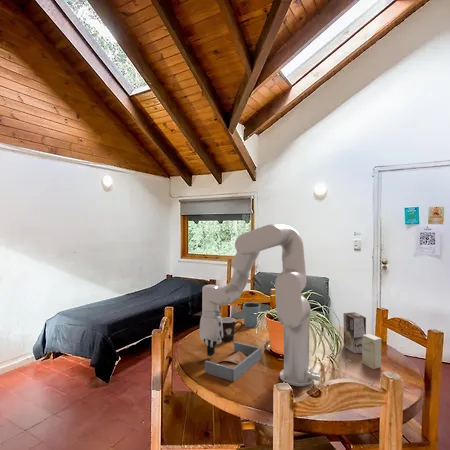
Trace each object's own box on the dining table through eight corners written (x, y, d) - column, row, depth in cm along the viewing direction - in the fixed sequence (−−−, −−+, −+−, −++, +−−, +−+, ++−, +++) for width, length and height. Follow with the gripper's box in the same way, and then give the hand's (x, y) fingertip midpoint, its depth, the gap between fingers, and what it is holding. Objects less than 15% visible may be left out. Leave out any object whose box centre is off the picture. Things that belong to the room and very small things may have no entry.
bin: (261, 358, 136) (261, 347, 136) (233, 381, 116) (233, 369, 116) (235, 351, 143) (235, 341, 143) (204, 372, 123) (204, 361, 123)
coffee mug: (217, 341, 155) (216, 322, 155) (220, 335, 163) (220, 316, 163) (239, 343, 152) (239, 323, 152) (242, 337, 161) (242, 318, 160)
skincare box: (361, 363, 131) (361, 334, 131) (369, 361, 133) (369, 333, 133) (374, 369, 125) (374, 339, 125) (381, 367, 127) (381, 338, 127)
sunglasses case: (229, 378, 119) (222, 360, 121) (217, 382, 122) (210, 365, 124) (254, 361, 133) (248, 346, 135) (243, 365, 136) (237, 350, 139)
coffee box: (366, 352, 141) (366, 317, 141) (353, 353, 140) (353, 318, 140) (355, 344, 150) (355, 311, 150) (343, 345, 149) (343, 312, 149)
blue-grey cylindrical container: (253, 321, 187) (253, 301, 187) (264, 326, 179) (264, 305, 178) (239, 324, 182) (239, 303, 182) (249, 329, 173) (249, 307, 173)
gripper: (229, 313, 135) (229, 355, 135) (202, 308, 143) (202, 348, 143) (220, 318, 129) (220, 362, 129) (192, 312, 137) (192, 354, 137)
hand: (210, 354), depth 136 cm, fingers closed
